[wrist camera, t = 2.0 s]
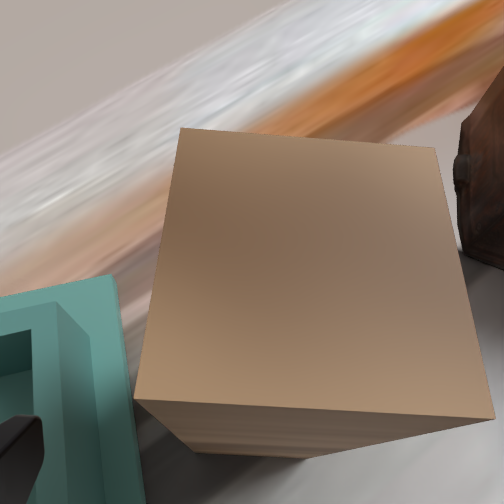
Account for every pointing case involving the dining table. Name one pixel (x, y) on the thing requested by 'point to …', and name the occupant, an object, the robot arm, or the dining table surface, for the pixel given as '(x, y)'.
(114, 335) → the well
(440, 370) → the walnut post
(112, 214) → the dining table surface
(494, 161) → the dark brown wooden block
